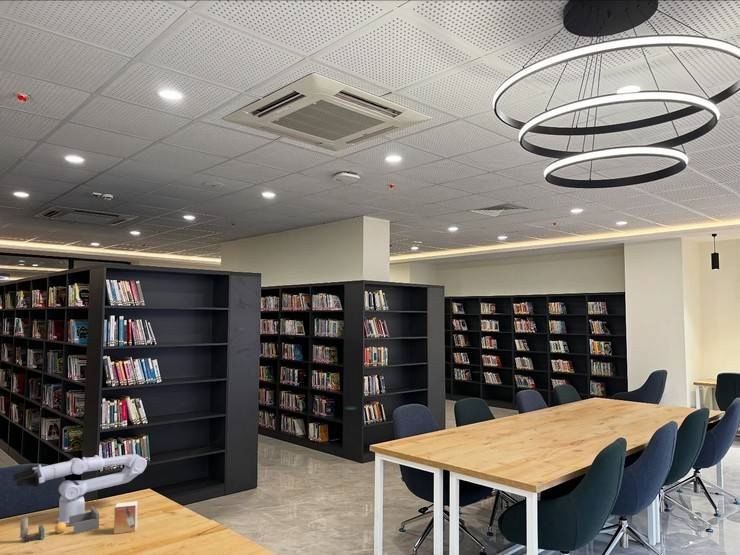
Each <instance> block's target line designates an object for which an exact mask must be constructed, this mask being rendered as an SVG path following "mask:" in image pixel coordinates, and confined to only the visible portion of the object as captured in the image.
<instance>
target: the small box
mask: <svg viewBox="0 0 740 555" xmlns="http://www.w3.org/2000/svg"><path fill="white" fill-rule="evenodd" d="M138 502H139V501H138V500H135V501H126V502H117V503H115V504H116V505H115V507H114V515H113V517H114V520H113V521H114V522H113V524H114V525H113V534H117V535H118V534H125V533H126V532H127V533H135V532H136V531H137V527H138V505H139V504H138ZM127 533H126V534H127Z"/></svg>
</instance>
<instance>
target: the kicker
mask: <svg viewBox="0 0 740 555" xmlns="http://www.w3.org/2000/svg"><path fill="white" fill-rule="evenodd" d="M28 521H29V517H28V516H27V517H22V518H20V523H19V524H20V529H19V530H20V532H19V534H20V535H19V539H21V541H22V542H24V539H25V538H30V537H34V536H40V540H43V539H45V528H44V526H43V525H42V524H41V525H38V532H34V533H35V534H34V533H30V534H31V535H29V534H28V533H29V532H28V531H29V528H28V527H29V522H28Z"/></svg>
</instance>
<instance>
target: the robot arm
mask: <svg viewBox="0 0 740 555" xmlns="http://www.w3.org/2000/svg"><path fill="white" fill-rule="evenodd" d="M147 464H148V462H147V460H146V458H145V457H143V456H140V455H139V454H137V453H133V454H132V453H131V454H130V453H128V454H123V455H116V456H111V457H105V458H104V457H103V456H99V455H97V454H96V455H94V456H93V457H85V456H83V457H82V458H79V457H73V458H72V459H70V460H68V461H62V462H59V463H53V464H50V465H45V466H42V465H41V464H38V466H37V467H33V465H29V466H28V467H27V468H25V469H23V470H21V471H19V472H16V473H14V474H13V475H12V477H13V481H16V482H15V483H16V486H17V487H26V486H27V487H38V486H39V484H43V483H45V482H46V481H49V480H50V481H51V480H53V479H57V478H58V479H59V478H62V477H66V476H68V475H69V476H70V475H72V474H75V475H81V474H83V473H87V472H92V471H99V470H101V469H102V468H104V467H108V466H109V467H111V466H118V465H121V466H122V465H124V468H122V470H121V471H120V472H115V473H111V474H107V475H102V476H98V477H94V478H89V479H83V480H81V479H80V480H69V479H68V480H64V481H62V482H61V483H60V484H59V486H58V493H59V494H60V497H59V499H58V500H59V504H58V505H59V506H58V510H59V511H58V517H57V518H56V521H57V524H58V523H60V522H63V523H65V524H66V525H67V524H69V516H73V515H77V514H82V513H86V512H85V508H86V506H85V505H86V504H85V497H84V494H86V493H89V492H93V491H98V490H102V489H105V488H111V487H114V486H119V485H122V484H126V483H127V484H128V483H129V482H131V481H132V480H133V479H135V478H136V477H138V475H140V474H143V472H144V471H145V469H147Z"/></svg>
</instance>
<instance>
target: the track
mask: <svg viewBox="0 0 740 555" xmlns="http://www.w3.org/2000/svg"><path fill="white" fill-rule="evenodd" d="M35 533H36V532H34V533H33V534H35ZM31 534H32V533H30V534H28V535H31ZM34 540H35V541H38V540H41V538H40V536H34V537H30V538H25V539H24V541H23V542H24V543H25V544H27V543H30V542H29V541H31V542H35V541H34ZM26 542H27V543H26Z"/></svg>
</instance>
